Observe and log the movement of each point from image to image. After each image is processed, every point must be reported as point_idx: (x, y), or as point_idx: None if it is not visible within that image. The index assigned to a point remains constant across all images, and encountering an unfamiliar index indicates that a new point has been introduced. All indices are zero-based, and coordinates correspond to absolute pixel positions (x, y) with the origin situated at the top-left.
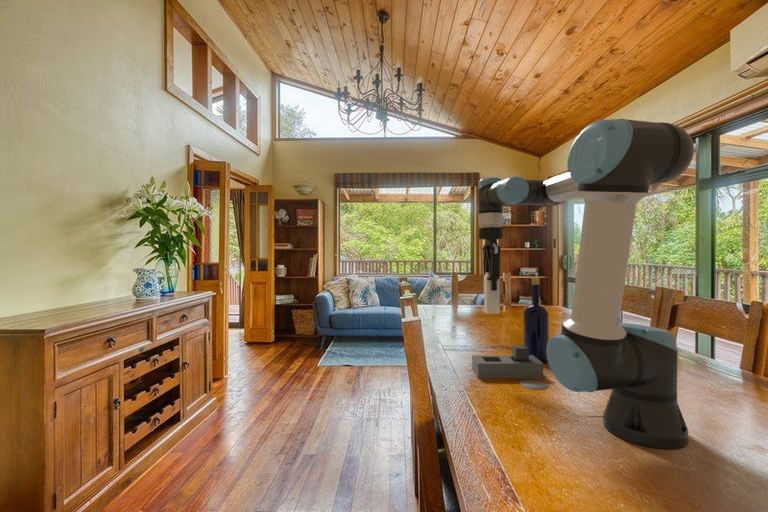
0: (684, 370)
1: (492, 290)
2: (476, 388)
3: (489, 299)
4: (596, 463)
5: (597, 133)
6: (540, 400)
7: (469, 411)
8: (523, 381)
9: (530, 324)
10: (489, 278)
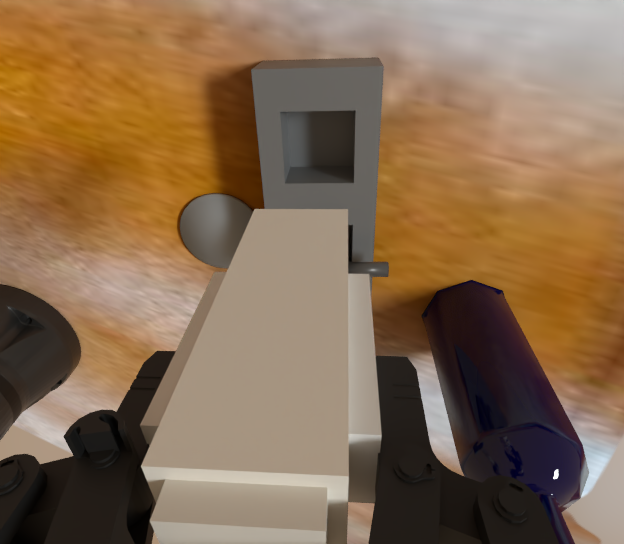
0: (353, 524)
1: (156, 354)
2: (167, 34)
3: (212, 280)
4: None
5: None
6: (114, 213)
7: None
8: (245, 214)
9: (472, 396)
10: (71, 445)
